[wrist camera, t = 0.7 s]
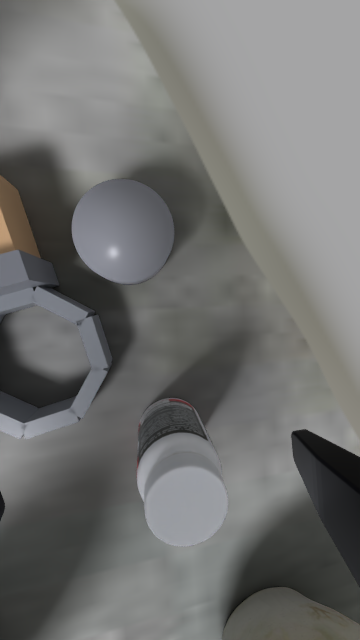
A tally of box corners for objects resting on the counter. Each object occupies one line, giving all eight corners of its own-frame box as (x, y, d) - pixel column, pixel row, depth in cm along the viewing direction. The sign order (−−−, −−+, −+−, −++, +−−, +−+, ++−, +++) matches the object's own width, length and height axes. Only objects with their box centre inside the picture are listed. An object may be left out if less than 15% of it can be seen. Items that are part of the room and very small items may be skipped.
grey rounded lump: (179, 272, 21) (186, 266, 17) (99, 295, 20) (90, 293, 17) (155, 190, 20) (158, 167, 17) (73, 212, 19) (57, 192, 16)
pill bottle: (125, 424, 21) (112, 506, 13) (174, 383, 21) (194, 437, 13) (165, 469, 21) (178, 575, 13) (212, 429, 22) (254, 508, 13)
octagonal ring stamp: (124, 394, 21) (117, 426, 15) (0, 435, 20) (-51, 482, 15) (54, 180, 19) (21, 136, 14) (-84, 214, 18) (-174, 180, 13)
